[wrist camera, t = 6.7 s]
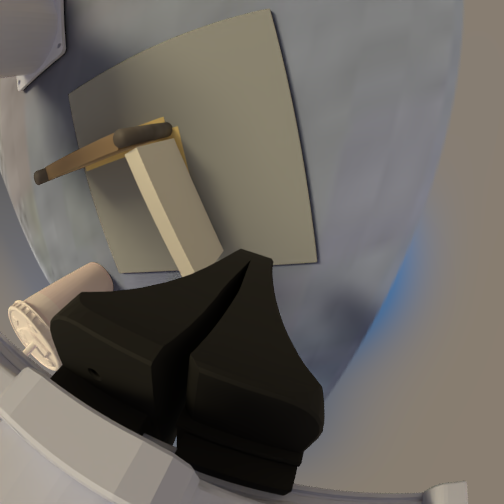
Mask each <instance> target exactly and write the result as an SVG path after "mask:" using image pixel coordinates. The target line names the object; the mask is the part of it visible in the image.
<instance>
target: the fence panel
mask: <svg viewBox="0 0 504 504" xmlns="http://www.w3.org/2000/svg"><path fill="white" fill-rule="evenodd" d="M125 157H126V159H127V162H128V164H129V167H130V169H131V171H132V173H133V176H134V178H135V180H136V183H137V185H138V187H139V189H140V191H141V194H142V196H143V198H144V200H145V202H146V205H147V207H148V209H149V211H150V213H151V215H152V217H153V219H154V221H155V224H156V226H157V228H158V230H159V232H160V234H161V236H162V238H163V240H164V242H165V244H166V246H167V248H168V250H169V252H170V254H171V256H172V258H173V260H174V262H175V264H176V266H177V267H178V269H179V271H180V273H181V275H182V277H184V276H187V275H190V274H192V273H194V272H197V271H199V270H201V269H203V268H206V267H208V266H210V265H211V264H213V263H215V262H216V260H217V259H218V258H219V256H220V255H221V254H222V252H223V251H224V250H223V248H222V246H221V244H220V242H219V239H218V237H217V235H216V233H215V231H214V228H213V226H212V224H211V222H210V219H209V217H208V215H207V213H206V211H205V208H204V206H203V204H202V202H201V199H200V197H199V195H198V193H197V190H196V188H195V186H194V184H193V181H192V179H191V177H190V174H189V172H188V170H187V167H186V165H185V163H184V161H183V158H182V156H181V154H180V151H179V149H178V147H177V144H176V142H175V140H174V138H172V139H168V140H164V141H159V142H155V143H151V144H147V145H143V146H139V147H136V148H134V149H133V150H131V151H129V152H128V153H126V154H125Z"/></svg>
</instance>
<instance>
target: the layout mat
mask: <svg viewBox="0 0 504 504" xmlns="http://www.w3.org/2000/svg"><path fill="white" fill-rule="evenodd" d="M68 96H69V102H70V108H71V113H72V118H73V123H74V128H75V133H76V138H77V142H78V146H79V149H80V148H82V147H84V146H87V145H89V144H91V143H93V142H95V141H97V140H99V139H101V138H104V137H106V136H108V135H110V134H113V133H115V131H116V130H118V129H123V128H129V127H135V126H141V125H148V124H156V123H164V122H168V123H170V124H171V125H172V127H173V128H172V133H171V135H170V136H169V137H166V138H161V139H157V140H156V141H153V142H150V143H147V144H151V143H155V142H159V141H164V140H168V139H172V138H174V140H175V142H176V144H177V147H178V149H179V151H180V154H181V156H182V158H183V161H184V163H185V165H186V167H187V170H188V172H189V174H190V177H191V179H192V181H193V184H194V186H195V188H196V190H197V193H198V195H199V197H200V199H201V202H202V204H203V206H204V208H205V211H206V213H207V215H208V217H209V219H210V222H211V224H212V226H213V228H214V231H215V233H216V235H217V237H218V239H219V242H220V244H221V246H222V248H223V250H224V251H223V252H222V254H221V255H220V256H219V258H218V259H217V260H216V262H217V261H219V260H221V259H223V258H225V257H226V256H228V255H230V254H232V253H233V252H235V251H237V250H239V249H244V250H247V251H250V252H253V253H256V254H259V255H262V256H266V257H269V258H272V260H273V262H274V263H273V265H281V264H297V263H312V262H317V253H316V244H315V236H314V228H313V221H312V213H311V206H310V199H309V192H308V186H307V179H306V173H305V167H304V161H303V155H302V149H301V144H300V138H299V133H298V127H297V122H296V117H295V112H294V107H293V102H292V97H291V92H290V88H289V83H288V79H287V74H286V70H285V65H284V61H283V57H282V53H281V49H280V45H279V41H278V37H277V33H276V29H275V25H274V21H273V18H272V14H271V11H270V9H265V10H260V11H256V12H252V13H247V14H244V15H240V16H236V17H232V18H229V19H226V20H222V21H219V22H216V23H213V24H210V25H207V26H204V27H201V28H198V29H195V30H192V31H190V32H187V33H184V34H182V35H179V36H177V37H174V38H172V39H169V40H167V41H165V42H162V43H160V44H158V45H155V46H153V47H151V48H149V49H147V50H145V51H143V52H141V53H138V54H136V55H134V56H132V57H130V58H129V59H127V60H125V61H123V62H121V63H119V64H117V65H115V66H114V67H112V68H110V69H108V70H106V71H105V72H103V73H101V74H100V75H98V76H96V77H95V78H93V79H91V80H90V81H88V82H87V83H85V84H83V85H82V86H80V87H79V88H77V89H76V90H74V91H73V92H71V93H70V94H68ZM147 144H144V145H147ZM141 146H143V145H141ZM138 147H139V146H138ZM133 149H134V148H133ZM133 149H130V150H127V151H124V152H122V153H119V154H116V155H114V156H111V157H108V158H106V159H103V160H101V161H98V162H96V163H93V164H91V165H89V166H86V167H84V170H85V174H86V177H87V181H88V184H89V188H90V191H91V195H92V198H93V201H94V204H95V207H96V211H97V214H98V217H99V220H100V223H101V225H102V228H103V231H104V234H105V237H106V240H107V242H108V245H109V248H110V250H111V253H112V256H113V258H114V261H115V263H116V266H117V268H118V271H119V273H133V272H155V271H175V270H179V269H178V267H177V266H176V264H175V262H174V260H173V258H172V256H171V254H170V252H169V250H168V248H167V246H166V244H165V242H164V240H163V238H162V236H161V234H160V232H159V230H158V228H157V226H156V224H155V221H154V219H153V217H152V215H151V213H150V211H149V209H148V207H147V205H146V202H145V200H144V198H143V196H142V194H141V191H140V189H139V187H138V185H137V183H136V180H135V178H134V176H133V173H132V171H131V169H130V167H129V164H128V162H127V159H126V157H125V154H126V153H128V152H129V151H131V150H133Z"/></svg>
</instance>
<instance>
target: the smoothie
mask: <svg viewBox="0 0 504 504" xmlns="http://www.w3.org/2000/svg"><path fill="white" fill-rule="evenodd" d="M105 291H113V282H112V279H111V277H110V275H109V274H108V272H107V271H106V270H105V269H104V268H103V267H102V266H101V265H99V264H97V263H94V262H90V263H88V264H86V265H84V266H83V267H81V268H79V269H77V270H75V271H74V272H72V273H70V274H68V275H66V276H65V277H63V278H61V279H59V280H58V281H56V282H54V283H52V284H51V285H49V286H47V287H46V288H44V289H42V290H41V291H39V292H37V293H35V294H34V295H32V296H31V297H29V298H27V299H26V300H24V301H21V300H17V301H15V303H14V304H13V305H12V306H11V307H10V308H9V310H8V315H9V319H10V322H11V325H12V327H13V329H14V331H15V333H16V334H17V336H18V337H19V339H20V341H21V342H22V343H23V345H24V346H25V347H26V348H25V349H24V350H23V351H22V352H23V353H24V354H25V355H27V356H28V355H29V354H30V353H31V354H32V355H33V356H34V357H35V358H36V359H37V360H38V361H39V362H40V363H42V364H43V365H44V366H45V367H47V368H49V369H51V370H53V371H57V370H58V369H59V368H60V367H61V366H62V362H61V360H60V358H59V355H58V353H57V350H56V347H55V345H54V342H53V339H52V336H51V332H50V321H51V319H52V318H53V317H54V316H55V315H56V314H57V313H58V312H59V311H60V310H61V309H62V308H64V307H65V306H66V305H67V304H68V303H69V302H70V301H71V300H73V299H74V298H75V297H76V296H77V295H78V294H80V293H81V292H105Z"/></svg>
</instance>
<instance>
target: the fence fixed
mask: <svg viewBox="0 0 504 504" xmlns="http://www.w3.org/2000/svg"><path fill="white" fill-rule="evenodd" d="M172 128H173V127H172V125H171V124H170V123H168V122H164V123H156V124H148V125H141V126H135V127H129V128H123V129H118V130H116V131H115V133H113V134H110V135H108V136H106V137H104V138H101V139H99V140H97V141H95V142H93V143H91V144H89V145H87V146H84V147H82V148H80V149H78V150H76V151H74V152H73V153H71V154H69V155H67V156H65V157H63V158H61V159H59V160H57V161H56V162H54V163H52V164H50V165H48V166H47V167H45V168H44V169H41V170H38V171H36V172H35V173H34V180H35V183H36V184H37V185H40V184H42V183H45V182H47V181H50V180H52V179H55V178H57V177H60V176H62V175H65V174H68V173H70V172H73V171H76V170H79V169H81V168H84V167H86V166H89V165H91V164H93V163H96V162H98V161H101V160H103V159H106V158H108V157H111V156H114V155H116V154H119V153H122V152H124V151H127V150H130V149H133V148H136V147H138V146H141V145H144V144H147V143H150V142H153V141H156V140H157V139H161V138H166V137H169V136H170V135H171V133H172Z"/></svg>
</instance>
